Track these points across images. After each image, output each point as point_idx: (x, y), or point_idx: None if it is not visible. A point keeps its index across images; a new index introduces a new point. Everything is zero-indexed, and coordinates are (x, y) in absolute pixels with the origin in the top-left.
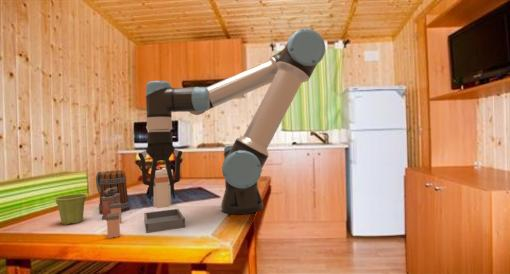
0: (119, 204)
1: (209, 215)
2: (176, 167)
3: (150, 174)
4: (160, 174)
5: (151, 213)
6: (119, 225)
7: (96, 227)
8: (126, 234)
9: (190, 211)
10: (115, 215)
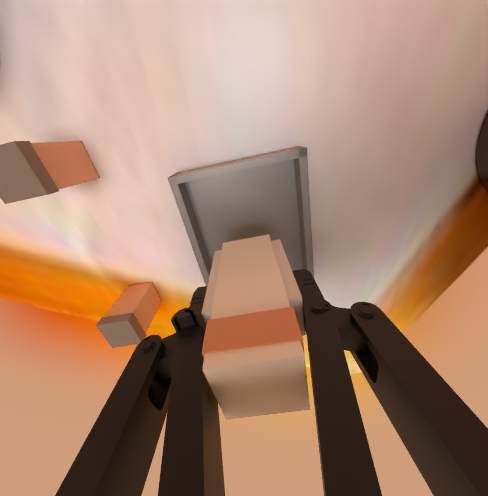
0: (36, 187)
1: (408, 175)
2: (419, 464)
3: (173, 396)
4: (252, 381)
5: (197, 179)
6: (146, 304)
7: (38, 205)
8: (170, 289)
9: (359, 63)
10: (131, 341)
